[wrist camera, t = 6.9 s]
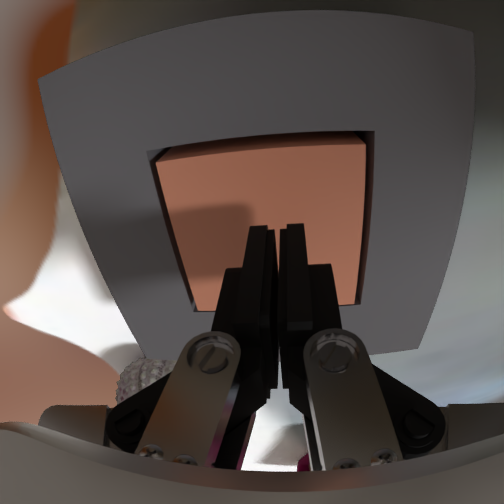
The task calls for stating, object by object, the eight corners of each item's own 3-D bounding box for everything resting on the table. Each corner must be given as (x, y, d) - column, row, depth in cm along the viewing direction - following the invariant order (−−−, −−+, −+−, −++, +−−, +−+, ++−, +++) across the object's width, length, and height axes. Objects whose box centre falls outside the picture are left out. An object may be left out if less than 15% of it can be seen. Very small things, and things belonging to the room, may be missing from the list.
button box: (413, 35, 11) (473, 31, 6) (395, 286, 20) (417, 348, 15) (103, 66, 13) (37, 79, 8) (168, 297, 22) (146, 358, 17)
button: (346, 125, 12) (365, 144, 9) (343, 262, 15) (354, 303, 13) (179, 139, 12) (155, 162, 10) (209, 270, 16) (197, 310, 14)
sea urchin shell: (100, 356, 28) (74, 420, 21) (200, 326, 23) (178, 417, 17) (179, 415, 34) (168, 471, 28) (277, 399, 30) (274, 469, 23)
